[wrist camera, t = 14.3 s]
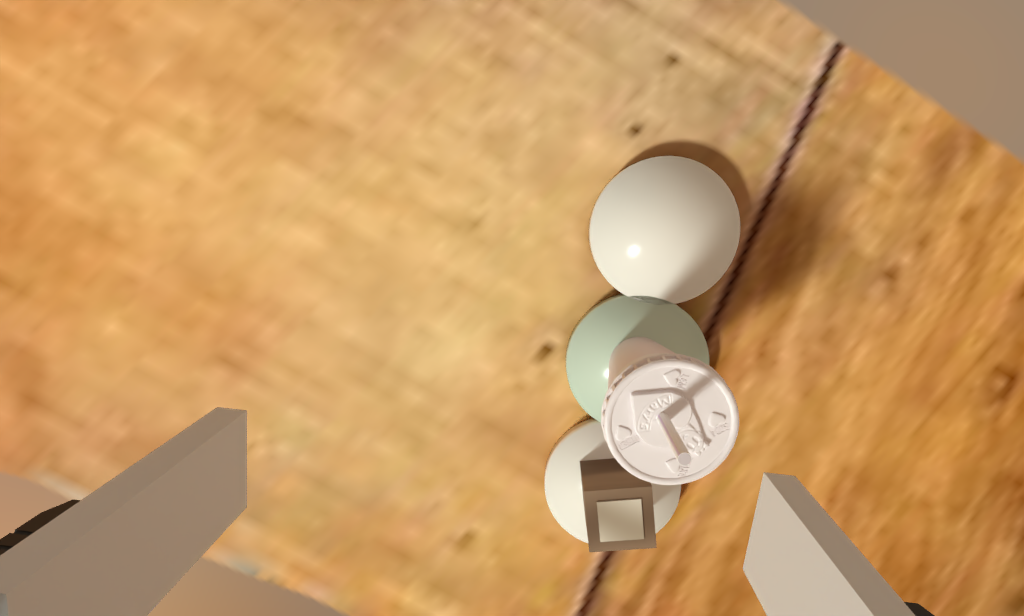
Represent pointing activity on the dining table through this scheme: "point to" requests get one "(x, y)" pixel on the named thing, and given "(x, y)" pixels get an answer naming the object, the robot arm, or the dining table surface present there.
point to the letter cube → (616, 507)
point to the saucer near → (664, 229)
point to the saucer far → (567, 483)
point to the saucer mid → (615, 325)
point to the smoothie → (666, 413)
